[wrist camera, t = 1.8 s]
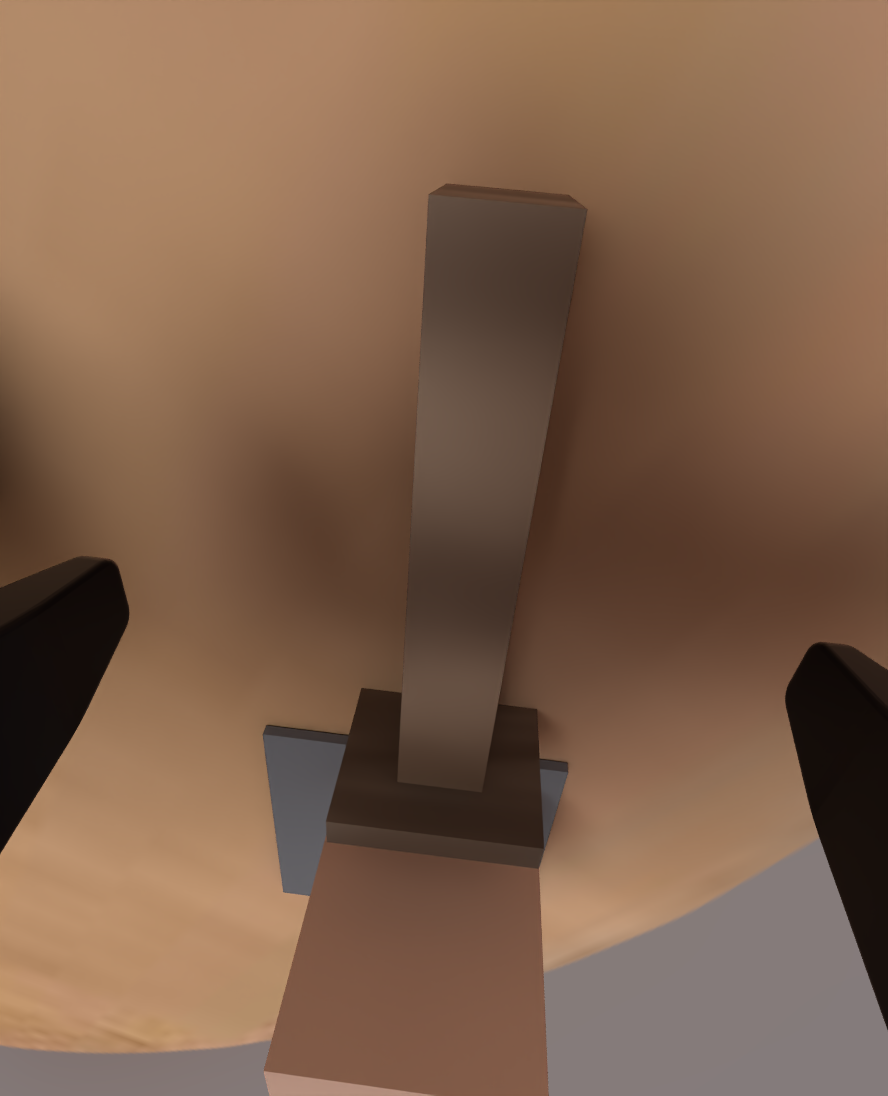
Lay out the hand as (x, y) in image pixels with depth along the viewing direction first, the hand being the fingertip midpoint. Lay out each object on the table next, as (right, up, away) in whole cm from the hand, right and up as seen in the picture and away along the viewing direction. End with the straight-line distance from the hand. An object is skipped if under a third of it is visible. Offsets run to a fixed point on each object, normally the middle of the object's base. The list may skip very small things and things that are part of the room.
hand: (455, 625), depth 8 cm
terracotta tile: (0, -8, +15) cm, 17 cm away
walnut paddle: (+1, +2, +9) cm, 9 cm away
